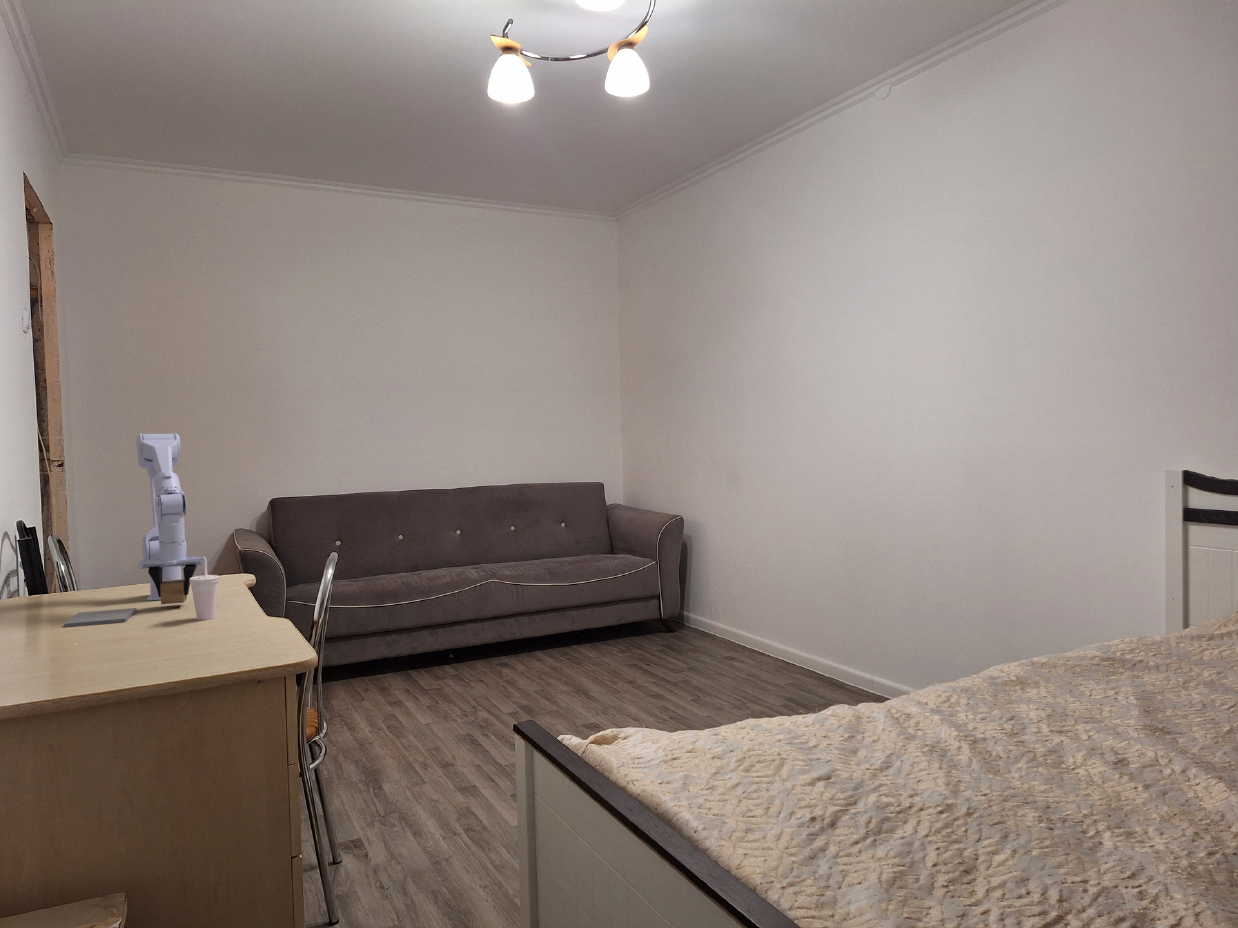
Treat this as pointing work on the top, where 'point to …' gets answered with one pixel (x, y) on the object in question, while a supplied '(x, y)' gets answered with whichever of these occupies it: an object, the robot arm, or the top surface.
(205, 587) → the smoothie
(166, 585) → the walnut cube
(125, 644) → the top surface
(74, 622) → the coaster
